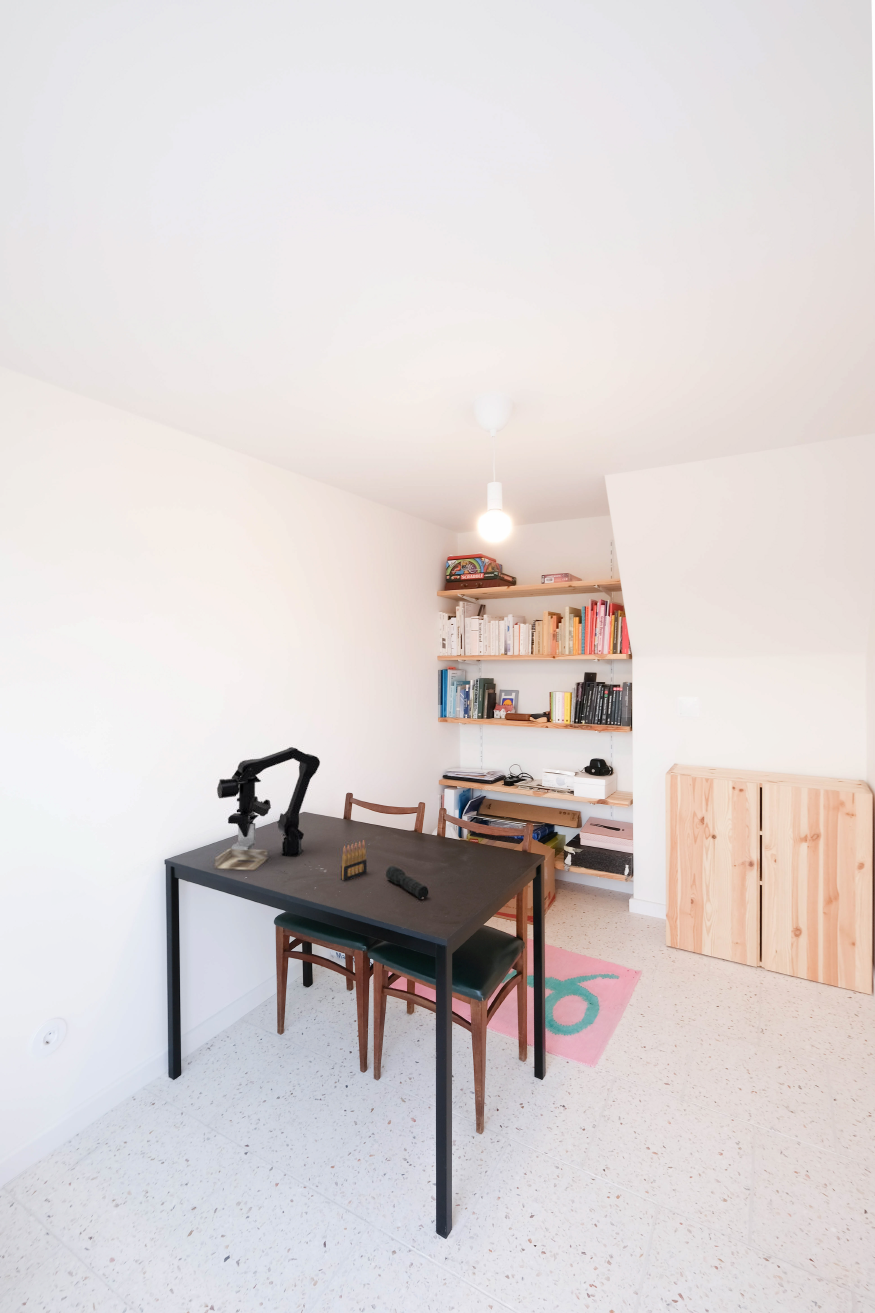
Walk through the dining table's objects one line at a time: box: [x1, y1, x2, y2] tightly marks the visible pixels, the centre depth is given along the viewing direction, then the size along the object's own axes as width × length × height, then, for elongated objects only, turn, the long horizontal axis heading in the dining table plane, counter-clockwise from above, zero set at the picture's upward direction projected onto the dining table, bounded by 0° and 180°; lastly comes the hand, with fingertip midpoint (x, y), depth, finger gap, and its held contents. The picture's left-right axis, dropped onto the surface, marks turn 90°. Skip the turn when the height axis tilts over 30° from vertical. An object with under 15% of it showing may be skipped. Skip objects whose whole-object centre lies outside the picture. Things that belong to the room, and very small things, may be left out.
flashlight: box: [385, 865, 430, 900], centre depth 197 cm, size 5×21×5 cm, turn 34°
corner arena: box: [214, 847, 268, 871], centre depth 219 cm, size 15×12×4 cm
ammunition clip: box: [340, 839, 368, 882], centre depth 208 cm, size 11×2×12 cm, turn 139°
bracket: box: [231, 822, 256, 850], centre depth 218 cm, size 6×6×8 cm
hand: (246, 836), depth 220 cm, fingers closed on bracket
